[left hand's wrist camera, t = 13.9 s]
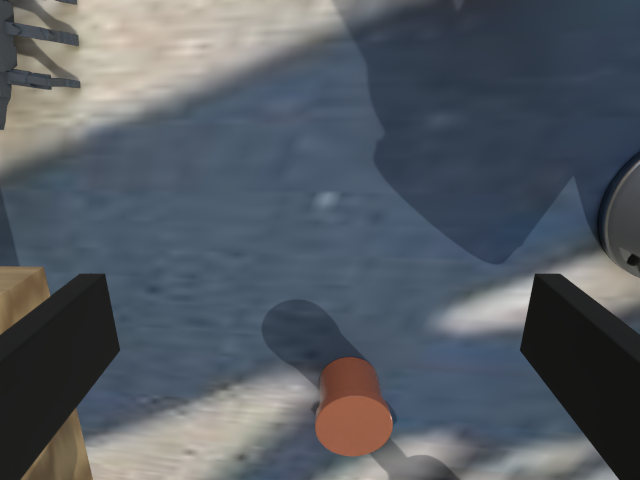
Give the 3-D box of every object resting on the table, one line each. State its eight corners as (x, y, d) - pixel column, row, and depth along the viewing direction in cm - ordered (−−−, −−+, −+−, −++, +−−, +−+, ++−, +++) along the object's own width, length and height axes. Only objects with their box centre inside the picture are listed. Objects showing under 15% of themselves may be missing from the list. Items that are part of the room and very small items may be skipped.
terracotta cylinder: (384, 353, 47) (396, 396, 41) (380, 408, 50) (389, 456, 44) (315, 352, 47) (315, 395, 41) (314, 408, 50) (314, 456, 44)
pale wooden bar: (-24, 265, 28) (-151, 332, 20) (43, 266, 28) (-58, 333, 20) (54, 532, 37) (-13, 646, 29) (105, 532, 37) (51, 647, 29)
